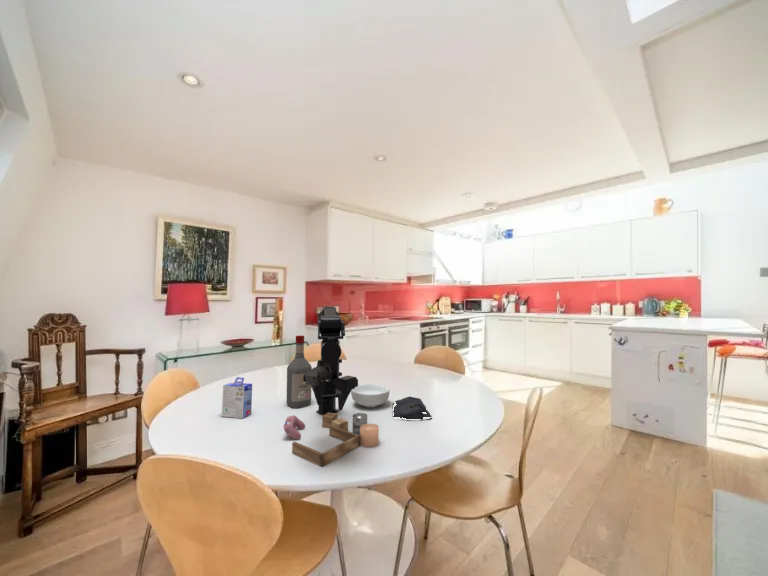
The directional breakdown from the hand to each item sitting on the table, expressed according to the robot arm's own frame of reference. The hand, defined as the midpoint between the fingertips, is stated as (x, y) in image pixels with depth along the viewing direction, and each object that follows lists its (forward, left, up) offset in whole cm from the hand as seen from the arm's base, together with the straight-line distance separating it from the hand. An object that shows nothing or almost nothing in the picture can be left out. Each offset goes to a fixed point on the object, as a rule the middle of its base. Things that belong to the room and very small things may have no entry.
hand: (329, 407), depth 95 cm
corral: (+1, 0, -12) cm, 12 cm away
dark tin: (-14, 0, -12) cm, 18 cm away
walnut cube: (-12, -13, -12) cm, 21 cm away
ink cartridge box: (+3, -50, -13) cm, 51 cm away
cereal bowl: (-39, -16, -13) cm, 44 cm away
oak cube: (-10, -6, -12) cm, 17 cm away
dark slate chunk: (-43, +3, -13) cm, 45 cm away
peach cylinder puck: (-10, +8, -12) cm, 18 cm away
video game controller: (0, -17, -13) cm, 21 cm away
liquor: (-20, -41, -13) cm, 47 cm away
